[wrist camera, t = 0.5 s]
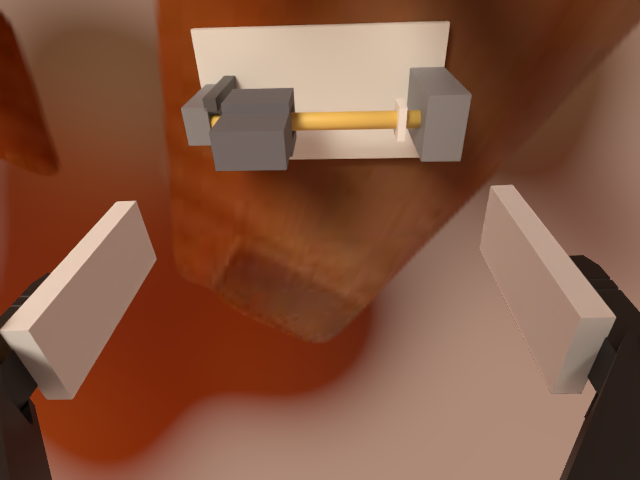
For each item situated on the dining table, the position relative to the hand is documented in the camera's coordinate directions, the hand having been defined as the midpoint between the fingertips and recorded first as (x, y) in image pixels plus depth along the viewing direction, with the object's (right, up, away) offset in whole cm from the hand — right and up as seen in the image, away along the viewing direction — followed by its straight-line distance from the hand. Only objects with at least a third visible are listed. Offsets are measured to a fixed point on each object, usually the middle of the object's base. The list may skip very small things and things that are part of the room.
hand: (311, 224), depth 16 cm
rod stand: (0, +13, +24) cm, 27 cm away
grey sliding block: (-4, +10, +19) cm, 22 cm away
